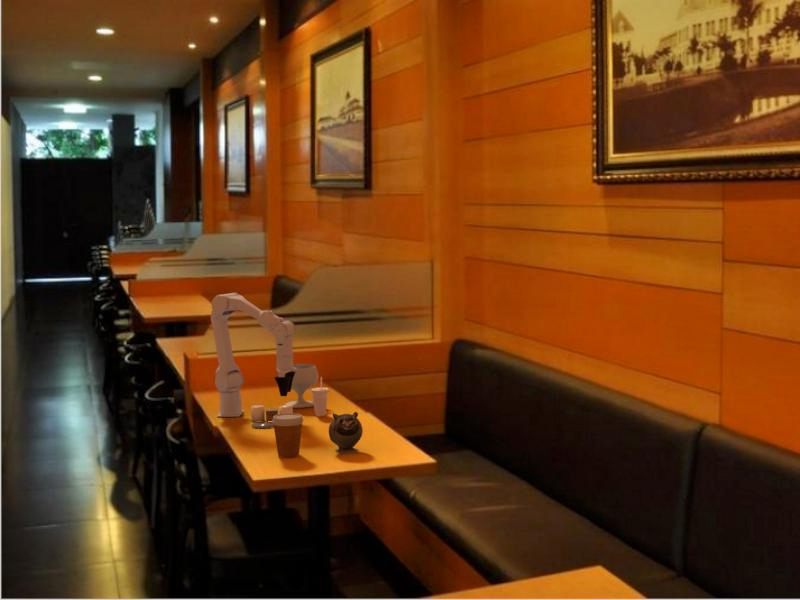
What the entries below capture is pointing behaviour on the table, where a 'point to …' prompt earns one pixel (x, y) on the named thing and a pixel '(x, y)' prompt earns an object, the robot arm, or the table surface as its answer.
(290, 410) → the cream small rounded lump
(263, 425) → the slate coaster
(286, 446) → the disposable coffee cup
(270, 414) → the walnut block
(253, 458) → the table surface
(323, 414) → the smoothie
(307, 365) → the chalice
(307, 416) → the table surface
